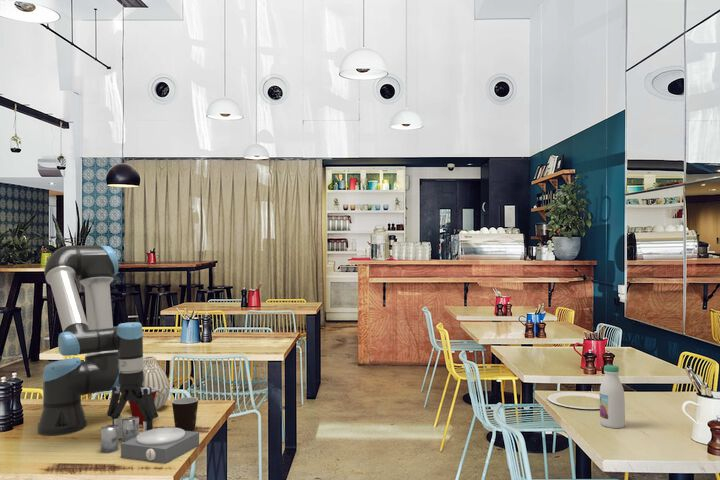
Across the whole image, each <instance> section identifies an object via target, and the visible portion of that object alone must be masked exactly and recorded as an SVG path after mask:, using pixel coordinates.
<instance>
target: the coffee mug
mask: <svg viewBox="0 0 720 480" xmlns="http://www.w3.org/2000/svg"><path fill="white" fill-rule="evenodd" d="M171 405H172V414H173V421H174V428H180V429H183V430H184V431H192V432H195V431H196V423H197V416H198V415H197V414H198V405H199V398H198V397H191V396H188V397H185V396H184V397H179V398H175V399H173V400H172V401H171Z"/></svg>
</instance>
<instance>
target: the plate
mask: <svg viewBox="0 0 720 480" xmlns="http://www.w3.org/2000/svg"><path fill="white" fill-rule="evenodd" d="M569 396H571V397H572V396H573V397H576V396H577V397H586V398H587V397H588V398H594V399H597V400H600V394H599V393H593V392H591V393H590V392H583V391H562V392H555V393H552V394H550V395H548V397H547V400H548V402H551V404H554V405H557V406H559V407H563V408H569V409H576V410H584V411H585V410H586V411H587V410H589V411H590V410H591V411H593V410H594V411H598V410H599V411H600V407H581V406H571V405H566V404H562V403H559V402H558V401H557V399H558V398H562V397H569Z"/></svg>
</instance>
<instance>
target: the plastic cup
mask: <svg viewBox="0 0 720 480" xmlns="http://www.w3.org/2000/svg"><path fill="white" fill-rule="evenodd" d="M151 390H152V397H153V401H154V399H155V395H156V392H157V391H158V388H151ZM142 393H143V392H142ZM139 399H140V398H139ZM128 404H129V409H130V413H131V417H139V426H143V421H145V418H144V417H143V415H142V413H141V411H140V409H139V407H138V405H137V404H136V403H135V402H134V401H131V400H129V403H128ZM148 417H149V416H148Z"/></svg>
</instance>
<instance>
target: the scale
mask: <svg viewBox="0 0 720 480" xmlns="http://www.w3.org/2000/svg"><path fill="white" fill-rule="evenodd" d="M199 446H200V431H184V430H183V429H180V428H175V426H173V427H172V426H171V427H169V426H168V427H155V428H153V429H151V430H148V431H145V432H143V431H142V432H139V435H137V437H135V438H133V439H130V440H128V441H126V442H121V443H120V458H126V459H132V460H140V461H146V462H153V463H161V464H167V463H169V462H171V461H172V460H175V459H177V458H178V457H180V456H182V455H184V454H185V453H187V452H190V451H191V450H193V449H195V448H197V447H199Z"/></svg>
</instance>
